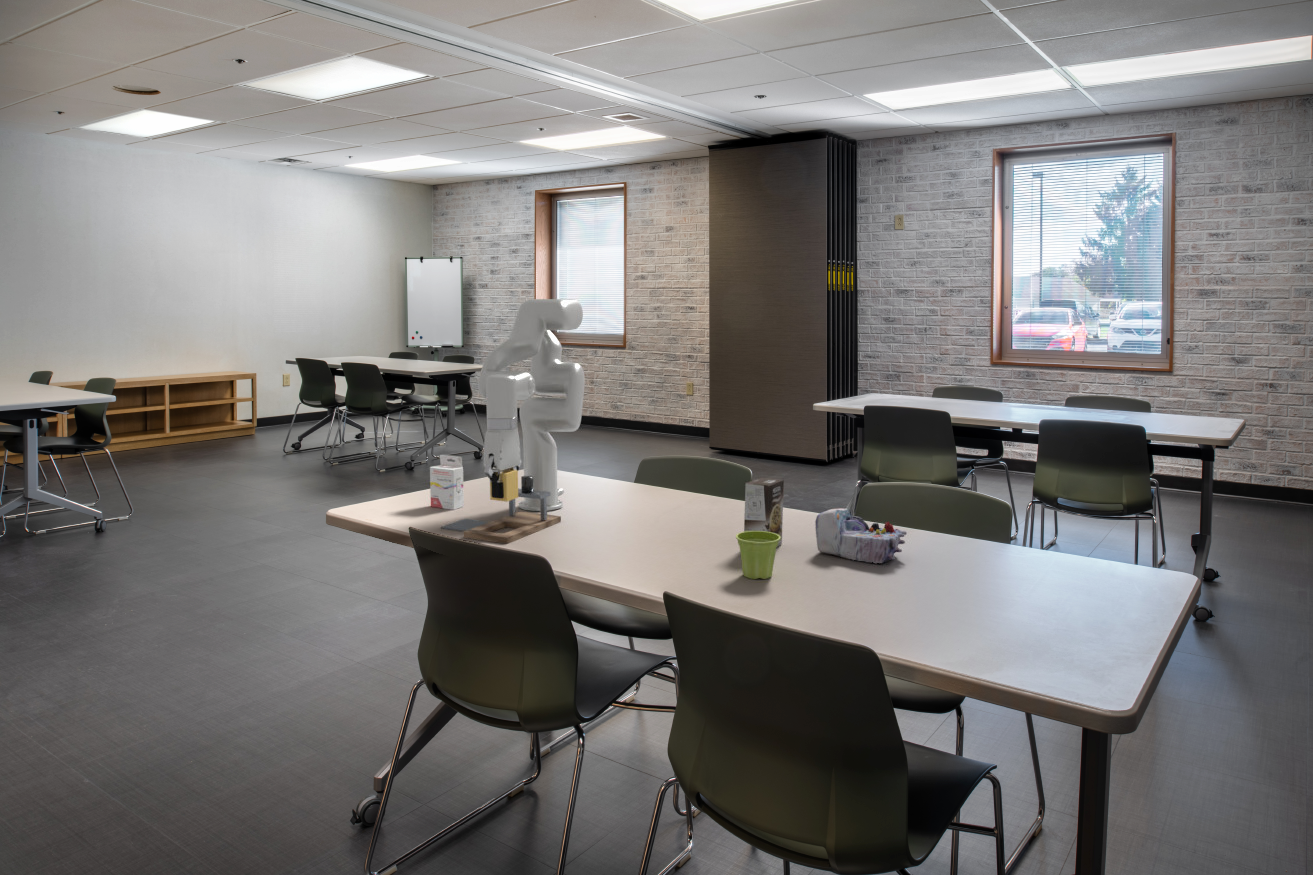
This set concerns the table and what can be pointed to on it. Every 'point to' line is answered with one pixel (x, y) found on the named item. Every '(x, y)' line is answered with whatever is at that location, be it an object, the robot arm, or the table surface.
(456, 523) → the rubber mat
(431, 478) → the ink cartridge box
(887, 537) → the cell model
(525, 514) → the puzzle board
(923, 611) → the table surface
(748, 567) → the plant pot
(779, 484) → the coffee box
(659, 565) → the table surface
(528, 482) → the cover bar
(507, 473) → the ochre block
